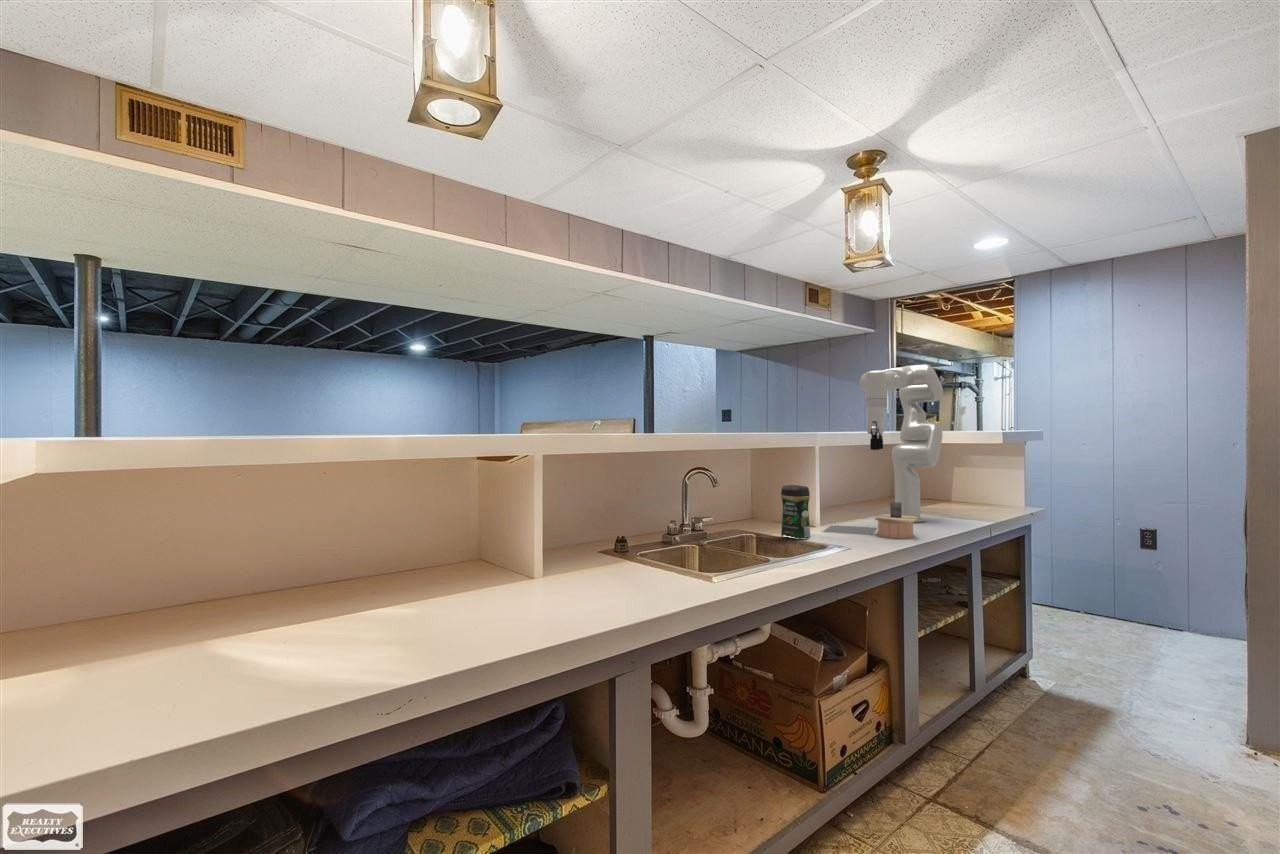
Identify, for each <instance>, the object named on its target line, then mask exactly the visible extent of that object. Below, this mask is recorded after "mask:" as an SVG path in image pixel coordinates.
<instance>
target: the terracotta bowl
mask: <svg viewBox="0 0 1280 854" xmlns="http://www.w3.org/2000/svg"><path fill="white" fill-rule="evenodd" d="M877 529H878V530H877V531H878V536H880V537H882V538H883V537H884V538H890V539H910V538H913V537H914V522H912V523H893V522H883V521H878V520H877Z"/></svg>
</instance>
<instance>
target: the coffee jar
mask: <svg viewBox="0 0 1280 854" xmlns="http://www.w3.org/2000/svg"><path fill="white" fill-rule="evenodd" d="M810 495H811V494H810V490H809V487H808V486H805V485H797V484H788V485H782V487H781V493H780V497H781V501H782V517H781V518H782V519H781V536H782V535H786V536H791V537H795V538H808V539H809V538H810V537H811V525H810V524H811V523H810V516H809V502H810V497H811V496H810Z"/></svg>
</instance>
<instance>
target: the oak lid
mask: <svg viewBox="0 0 1280 854" xmlns="http://www.w3.org/2000/svg"><path fill="white" fill-rule="evenodd" d="M889 508H890V510H889V511H890V513H887V514H886V513H885V514H875V515H874V520H875V521H877V522H878V521H883V522H893V523H912V522H913V523H918V522H917V521H918V517H915V516H910V515H902V510H901V503H900V502H895V501H891V502H890V503H889Z"/></svg>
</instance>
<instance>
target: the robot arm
mask: <svg viewBox="0 0 1280 854" xmlns="http://www.w3.org/2000/svg"><path fill="white" fill-rule="evenodd" d="M859 385H860V388H861V390H862V391H863V392H864V394H865V395H864V396H865V397H864V398H865V399H864V400H865V401H864V403H865V409H867V423H866V424H867V427H866V428H867V430H866V432H867V434H869V435H870V439H869V440H870V441H869V443H870V446H869V447H870V450H871V451H879V450H883V449H884V439H883V434H884V431H885V427H884V426H885V420H884V419H885V416H884V415H885V413H884V411H885V409H884V408H888V401H887V399H888V396H887V395H888V394H887V392H892V391H896V390H898V389H899V390H898V397H899V401H900V403H901V408H902V410H903V414H904V415H903V419H902V425H901V428H900V437H899V438H900V441H901V442H902V443H900V444H897V445H895V446H894V447H893V448H892V450H891V459H892V463H893V465H892V466H893V470H894V502H900V503H901V510H902V515H910V516H915V517H918V521H917V522H916V523H923V522H926V519H925V517H922V516H921V479H920V476H919V474H918V472H917V471H916V470H915V468H934V467H935V466H936V465H937V464H938V463H939V459H940V453H941V447H942V442H943V428H942V426H941V424H939V423H938V422H935V421H927V420H926V419H927V413H926V412H925V410H924V409H923V408H922V407H921V406H920V405H919V404H918V403H929V402H931V403H932V402H939V401H940V400H941V399H942V398H943V395H944V389H943V385H942V383H941V381H940V378H939V377H938V374H937V372H936V371H935V370H934V368H933V367H932V366H931V365H929V364H927V363H926V364H915V365H913V364H912V365H905V366H899V367H894V368H888V369H884V370H870V371H867V372H865V373H864V374H862V375H861V378H860V379H859Z"/></svg>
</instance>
